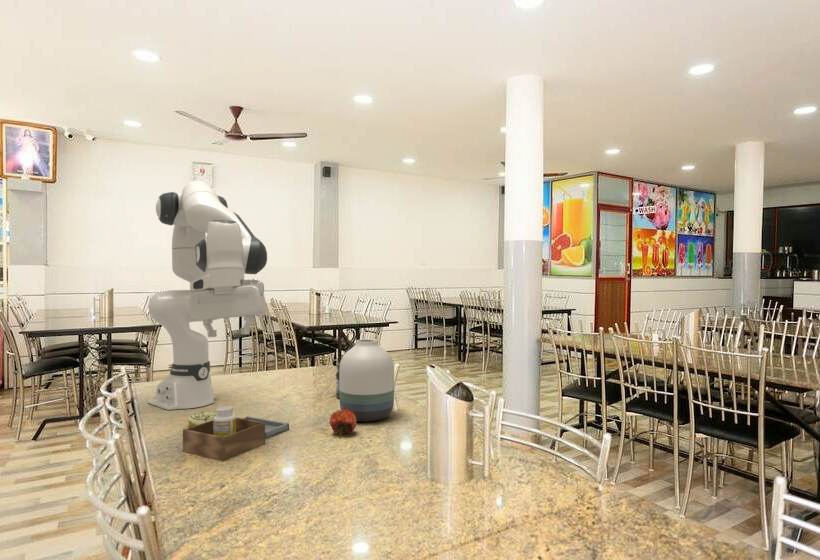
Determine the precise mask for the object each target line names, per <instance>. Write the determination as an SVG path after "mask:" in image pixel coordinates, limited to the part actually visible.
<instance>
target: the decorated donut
mask: <svg viewBox="0 0 820 560" xmlns="http://www.w3.org/2000/svg"><path fill="white" fill-rule="evenodd" d="M214 416H216V410H204V411H203V410H202V411H198V412H197V413H195V412H194V414H191V415H189V416H188V417H187V423H188V425H189V428H190V427H193V426H196V425H199V424H202V423H205V422H208V421H211V420H213V418H214Z"/></svg>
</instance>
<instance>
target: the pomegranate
mask: <svg viewBox="0 0 820 560" xmlns="http://www.w3.org/2000/svg"><path fill="white" fill-rule="evenodd" d="M329 426H330V427H331V428H332V431H333V432H334V433H335V434H339V440H340V439H341V436H342V434H351V433H353V432H354V431H355V429H356V426H357V421H356V417H355V414H354V413H353V412H352V411H349V410H348V409H346V408H345V409H342V410H341V409H339V410H336V411H333V412H332V413H331V415H330V418H329Z"/></svg>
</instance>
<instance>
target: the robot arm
mask: <svg viewBox="0 0 820 560" xmlns="http://www.w3.org/2000/svg"><path fill="white" fill-rule="evenodd" d="M155 212H156V213H155V214H156V215H157V218H158V221H159V222H160V223H161V224H164V225H168V226H173V230H172V237H171V256H172V257H171V265H172V266H171V268H172V272H173V273H174V275H175V276H176V277H178V278H180V279H182V280H184V281H187V282H188V283H189V289H176V290H175V289H174V290H163V291H160V292H156V293H154V294H153V295H152V297H151V298H150V299H149V301H148V312H149V315H150V317H151V318H152V319H153V320H154V321H155V322H156V323H158V324H160V325H161V326H162V327H163V328H164V329H165V330H166V331H167V333H168V334H169V336H170V340H171V342H172V355H173V362H172V364H168V365H167V366H169V367H168V369H170V370H169V374H168V375H167V376H166V377H165V378H164V379H163V380H162V381H160V382H159V383H158V384H157V386H156V389H155V397H152V398H150V399H148V400H147V401H148V404H150V405H153V406H154V407H155V406H156V407H158V408H161V409H164V410H168V411H172V410H184V409H193V408H201V407H205V406H209V405H211V404H213V403H214V402H215V394H214V393H213V385H212V377H211V375H210V371H211V361H210V360H209V340H208V338H217V329H214V328H213V326H212V324H213V321H216V320H217V321H218V320H221V319H229V318H240V317H241V318H242V317H243V321H245V322H244V324H243V327H240V335H241V336H244V335H250V331H251V330H250V328H251V326H252V324H253V322H254V316H264V315H265V314H266V312H267V303H266V298H265V284H264V283H263V281H262V280H261V279H258V278H253V279H245V275H257V274H259V273H260V272H261V271H262V270H263V269H264V268H265V267H266V265H267V262H268V252H267V248H266V246H265V245H264V243H263V242H262V241H261V240H260V239H259V238H257V237H256V236H255V235H254V234H253V232H252V230H251V229H250V228H249V227H248V226H247V224H246V223H245V222H244V220H243V219H242V217H241V216H240V215H239V214H237V213H236V212H235V211H232V210H231V209H229V206H228V203H227V200H226V199H225V197H223V196H220V195H218V194H217V193H216V191H215V190H214V188H213V187H212V186H211V185H209V184H208V183H207V182H205V181H203V180H192V181H190V182H188V183H186V184H185V185H184V186H183V189H182V191H181V192H175V191H171V192H164V193H162V194H160V195H159V196H158V199H157V201H156V204H155ZM192 322H193V323H194V322H198V323H199V322H202V325H203V327H204V328H205V330H206V331H207V337H206V336H205V335H204V334H202V333H200V332H198V331H195V330H193V329H192V328H191V326H190V323H192Z"/></svg>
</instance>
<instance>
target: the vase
mask: <svg viewBox="0 0 820 560" xmlns="http://www.w3.org/2000/svg"><path fill="white" fill-rule="evenodd" d="M339 363H340V368H339V395H340V399H339V407H340V410H342V409H345V408H346V409H348V410H349V411H352V412H353V413H354V414H355V417H356V422H375V421H380V420H383V419H385V418H387V417H389V415H390V414H391V413H392V411H393V408H394V405H395V364H394V360H393V358H392V356H391V355H390V353H389V352H388V351H387V350H386V349H385V348H383V347H382V346H380V345H379V343H378V340H377V339H375V338H374V339H373V338H363V339H357V340H356V342H355V345H354V346H352V347H351V348H350V349H348V350H347V352H345V353H344V354H343V355H342V357H341V359H340V362H339Z"/></svg>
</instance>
